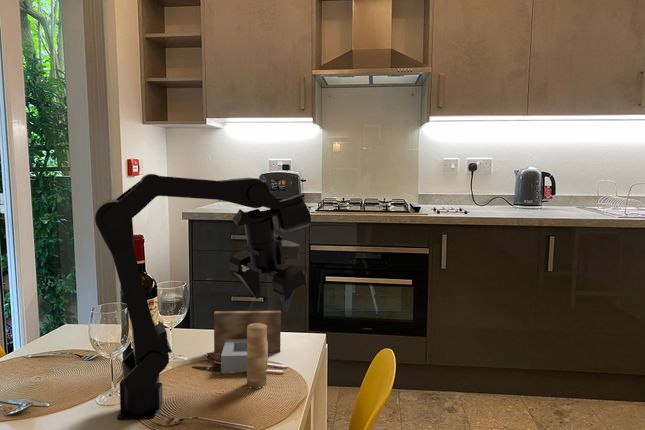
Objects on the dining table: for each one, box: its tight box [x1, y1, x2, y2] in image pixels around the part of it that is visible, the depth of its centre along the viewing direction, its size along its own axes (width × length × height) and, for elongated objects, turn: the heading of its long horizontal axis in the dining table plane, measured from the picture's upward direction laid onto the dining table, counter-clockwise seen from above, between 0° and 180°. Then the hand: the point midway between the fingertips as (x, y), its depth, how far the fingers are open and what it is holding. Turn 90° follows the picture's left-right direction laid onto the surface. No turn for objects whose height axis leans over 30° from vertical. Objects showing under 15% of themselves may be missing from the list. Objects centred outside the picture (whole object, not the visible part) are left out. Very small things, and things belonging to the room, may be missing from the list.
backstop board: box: [213, 310, 282, 354], centre depth 114 cm, size 16×2×10 cm, turn 95°
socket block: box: [220, 338, 269, 374], centre depth 107 cm, size 10×10×4 cm
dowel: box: [246, 323, 267, 389], centre depth 96 cm, size 4×4×12 cm
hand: (271, 304), depth 99 cm, fingers open, 9 cm apart
